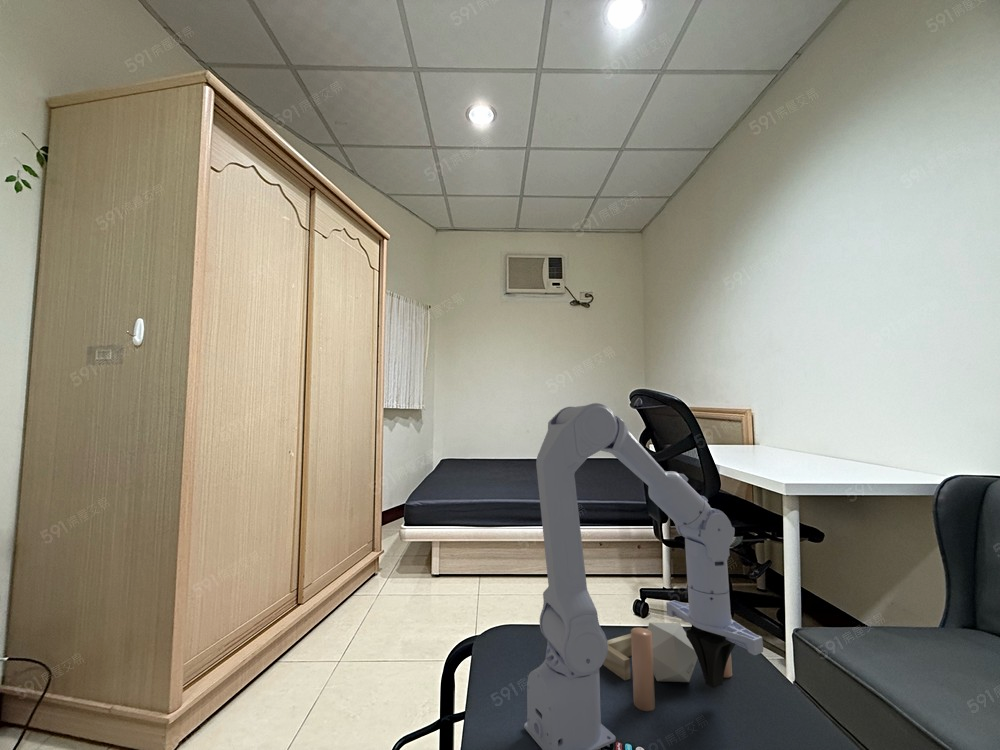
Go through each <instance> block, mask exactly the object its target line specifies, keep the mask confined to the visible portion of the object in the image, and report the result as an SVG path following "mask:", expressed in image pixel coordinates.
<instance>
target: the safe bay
mask: <svg viewBox="0 0 1000 750" xmlns="http://www.w3.org/2000/svg"><path fill="white" fill-rule="evenodd" d="M607 643H608V651H607V656H606V659H605V661H604V663H603V664H602V666H604V667H605V668H607V669H608V670H609V671H611V672H612V673H614V674H615V675H617V677H619V678H621V679H622V680H623V681H627V680H631V660H630V658H629V657H632V644H631V632H630V633H628V634H625V635H621V636H618V637H615V638H611V639H607Z"/></svg>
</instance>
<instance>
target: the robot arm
mask: <svg viewBox="0 0 1000 750" xmlns="http://www.w3.org/2000/svg"><path fill="white" fill-rule="evenodd" d="M600 451H602V452H604V453H605V452H606V453H609V454H612V455H613V456H614V457H615V458H617V459H618V461H619V462H621V463H622V464H623V465H624V466H625V467H626V468H628V469H629V470H630V471H631V472H632V473H633V474H634V475H635V476H636V477H637V478H639V480H642V482H643V483H644V484H646V485H647V486H648V487H647V488H648V497H649V499H650V500H651V501H652V502H653V503H654V504H655V505H656V506H657V508H660V510H661V511H662V512H664V514H666V516H667V517H668V518H670V519H671V521H673V523H674V526H675V530H676V531H677V533H678V535H680V536H681V537H683V538H684V545H685V547H684V549H685V565H686V566H685V567H686V578H687V579H686V581H687V583H686V584H687V595H688V596H687V598H688V603H684V602H681V601H678V600H675V599H674V600H671V601H667V602H666V615H667V616H669V617H675V618H678V619H681V620H682V621H685V622H687V623H689V624H690V625H691V627H690V629H687V630H686V631H685V632H686V636H687V638H688V639H689V641H690V643H691V644H692V646H693V648H694V650H695V652H696V655H697V657H698V659H697V661H699V665H700V669H701V672H702V675H703V678H704V681H705V684H706V685H707V686H709V687H711V688H712V689H716V688H719V687H721V686H723V681H724V678H725V677H724V671H725V667H726V664H727V661H728V658H729V656H730V653H731V654H732V651H733V650H734V647H735V646H736V645H737V646H738V647H741V648H744V649H745V650H747V652H748V653H749V654H751V655H753V656H757V655H759V654H762V653H764V641H763V637H762V636H761V635H759V634H756V633H754V632H753V631H751V630H749V629H748V628H746V627H745V626H743V625H741V624H740V623H738V622H737V621H735V620H734V619H732V618H733V617H732V614H731V613H732V612H731V599H730V583H729V582H730V581H729V570H728V560H729V557H730V556H731V555H730V547H731V544H732V542H733V540H734V538H735V531H736V530H735V527H733V526H732V522H731V520H730V519H729V517H728V516H727V515H726V514H725V513H724V511H722V510H720V509H717V508H712V507H711V505H710V504H709V503H708V502H709V500H708V498H707V497H706V496H704V495H700V494H699V493H698V492H697V491H696V490H695V489H694V488H693V487H692V486H691V485H690V484H689V483H688V481H689V478H688V477H687V476H686V475H685V474H684V473H678V472H677V471H673V470H670V471H667V470H664V468H663V467H662V466H661V465H660V464H659V463H658V462H657V461H656V460H655V459H654V457H653V456H652V455H651V454H650V453H649V452H648V451H647V450H646V448H644V446H643V445H642V444H641V443H640V442H639V441H638V439H636V437H635V436H634V435H633V434H632V433H631V432H630V431H629V429H628V428H627V425H626V423H625V421H624V420H623V419H622V418H621V417H619V416H618V415H615V413H614V412H613V410H612V409H611V408H610V407H608V406H607V405H605V404H603V403H597V402H594V403H590V404H586V405H581V406H566V407H564V408H562V409H560V410H558V412H557V413H556V414H555V415H554V416H553V417H551V419H549V421H548V422H547V432H546V435H545V436H544V439H543V442H542V444H541V447H540V449H539V452H538V453H537V457H536V461H535V462H536V463H535V465H536V473H537V476H536V477H537V487H538V493H539V494H538V497H539V504H540V505H539V506H540V514H541V515H540V516H541V524H542V533H543V545H544V553H545V556H544V557H545V563H546V564H545V565H546V574H547V583H548V587H546V589H545V590H544V591H543V592H542V598H543V604H542V609H541V613H540V615H539V628H540V631H541V633H542V636H544V638H545V639H546V640H547V644H546V645H547V646H546V651H545V659H544V661H543V662H542V663H541V664H540V665H539V666H538V667H536V668H535V669H533V670H531V671H530V672H529V674H528V677H527V681H526V683H527V684H526V711H527V713H526V715H527V716H526V722H524V725H523V726H524V729H525V731H526V732H527V733H528V734H529V735H530V736H531V738H532V739H533V740H534V741H535V743H537V745H538V746H539V747H540V748H541V750H600V749H601V748H604V747H607V746H609V745H611V744H613V743H615V742H616V741H617V739H616V736H615V735H614V734H613V733H612V732H611V731H610V730H609V729H608V728H607V727H606V726H604V724H602V720H601V719H602V718H601V685H600V684H601V683H600V680H601V679H600V668H601V667H602V666H603V663H604V661H605V659H606V656H607V651H608V643H607V640H608V639H607V636H606V634H605V632H604V630H603V629H602V627H601V625H600V622H599V617H598V616H599V615H598V611H597V608H596V606H595V602H593V599H592V597H591V595H590V592H589V590H588V586H587V585H588V584H587V577H586V569H585V568H586V567H585V559H584V550H583V549H584V548H583V539H582V532H581V523H580V513H579V512H580V511H579V503H578V495H577V487H576V478H575V473H576V472H577V470H578V469H580V467H581V466H582V465H583V464H584V463H585V461H586V460H587V459H589V457H592V456H593V455H595V454H597V453H598V452H600Z"/></svg>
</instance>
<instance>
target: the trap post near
mask: <svg viewBox="0 0 1000 750" xmlns="http://www.w3.org/2000/svg"><path fill="white" fill-rule="evenodd" d="M630 633H631V644H632V655H631V663H632V665H631V667H632V668H631V669H632V671H631V672H632V693H633V705H634V706H635V707H636V708H637V709H639V710H640V711H645V712H651V711H652V712H653V711H654V710H655V709H656V698H655V676H654V671H653V648H652V633H651V631H649V630H648V629H647V628H643V627H633V628H632V629H630Z"/></svg>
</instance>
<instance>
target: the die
mask: <svg viewBox="0 0 1000 750" xmlns="http://www.w3.org/2000/svg"><path fill="white" fill-rule="evenodd" d="M646 629H648V630H649V631H651V633H652V648H653V671H654V679H656V681H657V682H667V683H670V682H673V683H678V682H679V683H690V681H691V678H692V675H693V672H694V670H695V668H696V664H697V662H698V657H697V655H696V652H695V650H694V648H693V646H692V644H691V643H690V641H689V639H688V638H687V636H686V631H685V629H684V628H683V626H682V625H681V623H680V622H679V623H678V622H649V623H648V625H647V627H646Z"/></svg>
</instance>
